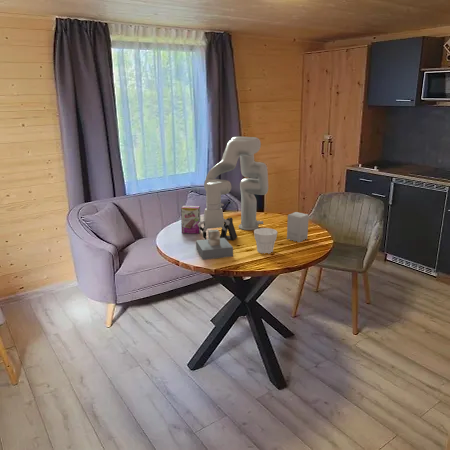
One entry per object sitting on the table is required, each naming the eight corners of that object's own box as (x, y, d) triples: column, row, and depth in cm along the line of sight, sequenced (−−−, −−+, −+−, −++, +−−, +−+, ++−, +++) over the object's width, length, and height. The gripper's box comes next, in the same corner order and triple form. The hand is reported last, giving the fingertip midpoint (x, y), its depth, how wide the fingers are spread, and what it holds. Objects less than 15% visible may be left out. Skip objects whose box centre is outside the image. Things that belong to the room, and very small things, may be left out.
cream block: (217, 241, 219) (217, 229, 216) (219, 244, 214) (219, 232, 212) (208, 242, 217) (208, 230, 215) (210, 245, 213) (210, 233, 211)
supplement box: (308, 239, 238) (309, 214, 234) (299, 242, 232) (300, 217, 227) (294, 235, 244) (296, 211, 240) (286, 239, 238) (287, 214, 233)
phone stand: (237, 237, 241) (237, 218, 237) (233, 240, 236) (233, 220, 232) (223, 235, 244) (223, 216, 241) (219, 238, 239) (219, 218, 236)
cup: (270, 256, 211) (271, 236, 208) (249, 252, 218) (249, 232, 214) (280, 249, 221) (281, 230, 218) (260, 245, 228) (260, 226, 224)
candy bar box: (181, 233, 248) (180, 207, 243) (183, 231, 253) (182, 205, 248) (199, 234, 247) (199, 207, 242) (200, 231, 252) (200, 205, 247)
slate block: (224, 246, 226) (224, 237, 225) (232, 256, 212) (232, 247, 210) (196, 249, 222) (196, 240, 221) (202, 259, 208) (202, 250, 206)
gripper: (227, 203, 215) (227, 234, 220) (195, 205, 211) (196, 237, 216) (231, 206, 208) (231, 238, 213) (198, 209, 204) (199, 241, 209)
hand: (213, 237), depth 215 cm, fingers open, 9 cm apart
